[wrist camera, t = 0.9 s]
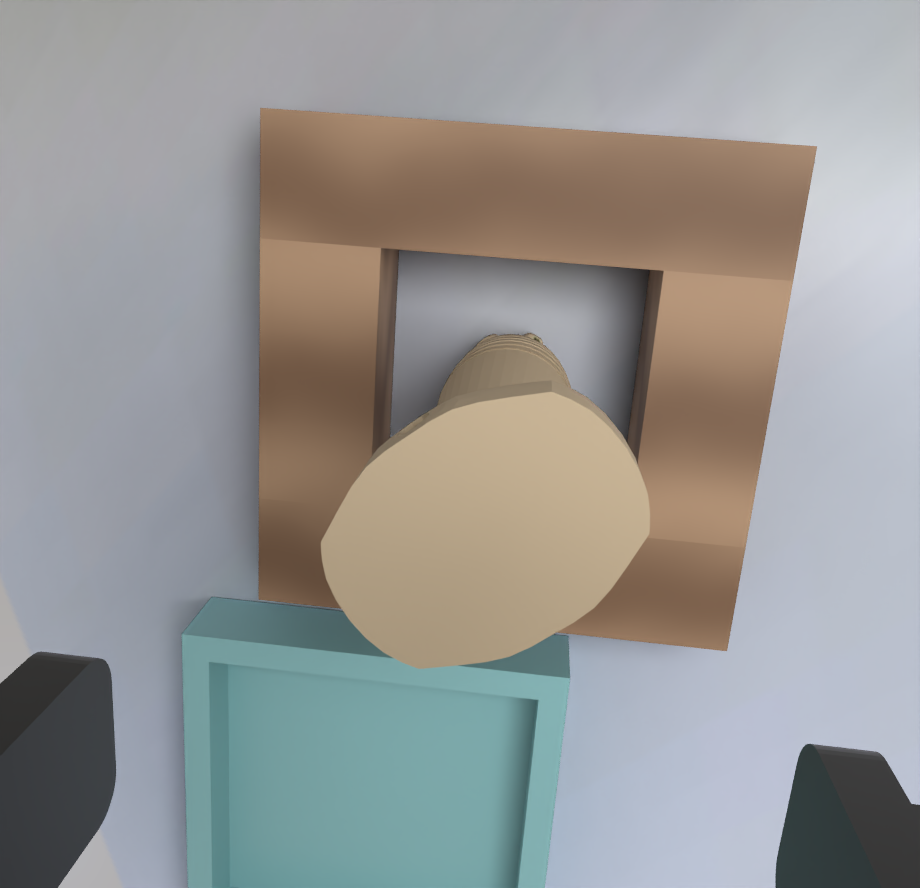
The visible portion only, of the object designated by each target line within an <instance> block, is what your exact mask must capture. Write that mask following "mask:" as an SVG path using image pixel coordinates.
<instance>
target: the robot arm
mask: <svg viewBox="0 0 920 888" xmlns="http://www.w3.org/2000/svg"><path fill="white" fill-rule="evenodd" d="M115 779H116V760H115V739H114V719H113V699H112V680H111V672H110V668H109V666H108V664H107V663H106V661H105V660H103V659H99V658H91V657H82V656H74V655H65V654H57V653H48V652H37V653H35V654H33V655H32V656H31V657H29V658H28V659H27V660H26V661H25V662H24V663H23V664H21V666H19V667H18V668H17V669H16V670H15V671H14V672H13V673H12V674H11V675H9V676H8V678H6V679H5V680H4V681H3V682H2V683H1V684H0V888H58V886H59V885H60V884H61V882H62V881H63V879H64V877H65V876H66V875H67V874H68V872H69V871H70V869H71V868H72V866H73V865H74V863H75V862H76V861H77V859H78V858H79V856H80V855H81V854H82V852H83V851H84V849H85V848H86V846H87V845H88V843H89V842H90V841H91V839H92V838H93V836H94V835H95V834H96V832H97V831H98V829H99V828H100V826H101V824H102V822H103V820H104V818H105V816H106V814H107V812H108V809H109V806H110V803H111V799H112V796H113V791H114V786H115ZM776 888H920V805H915V804H911V803H910V801H909V799H908V797H907V796H906V794H905V792H904V791H903V789H902V787H901V785H900V784H899V782H898V780H897V779H896V777H895V775H894V773H893V772H892V770H891V768H890V766H889V765H888V763H887V761H886V760H885V758H884V757H883V756H882V755H881V754H880V753H878V752H874V751H865V750H857V749H848V748H840V747H831V746H823V745H814V744H807V745H805V746H804V747H803V749H802V751H801V752H800V755H799V758H798V762H797V766H796V771H795V776H794V780H793V785H792V790H791V795H790V799H789V804H788V809H787V813H786V818H785V823H784V828H783V832H782V837H781V842H780V846H779V851H778V856H777V863H776Z"/></svg>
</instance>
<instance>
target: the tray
mask: <svg viewBox="0 0 920 888" xmlns="http://www.w3.org/2000/svg"><path fill="white" fill-rule="evenodd" d="M182 671H183V712H184V752H185V793H186V833H187V874H188V888H545V881H546V872H547V864H548V856H549V848H550V839H551V831H552V823H553V815H554V806H555V798H556V790H557V782H558V773H559V765H560V757H561V749H562V740H563V732H564V724H565V716H566V708H567V699H568V691H569V683H570V666H569V642H568V636H562V635H551V636H549V637H548V638H546V639H544V640H542V641H541V642H539V643H537V644H535V645H534V646H532V647H530V648H528V649H525V650H523V651H521V652H519V653H517V654H514V655H512V656H510V657H506V658H502V659H497V660H493V661H489V662H483V663H475V664H466V665H457V666H447V667H436V668H425V669H418V668H415V667H412V666H410V665H407V664H405V663H402V662H400V661H398V660H396V659H394V658H393V657H391V656H389V655H387V654H385V653H383V652H382V651H381V650H380V649H378V648H377V647H376V646H375V645H374V644H372V643H371V642H370V641H369V640H367V639H366V638H365V637H364V636H363V635H362V633H361V632H360V631H359V630H358V629H357V628H356V627H355V626H354V625H353V624H352V623H351V621H350V620H349V619H348V617H347V616H346V614H345V613H344V611H335V610H326V609H317V608H308V607H299V606H290V605H281V604H272V603H263V602H254V601H244V600H235V599H226V598H217V597H211V599H210V600H209V601H208V602H207V604H206V605H205V606H204V607H203V608H202V610H201V611H200V612H199V613H198V615H197V616H196V617H195V618H194V620H193V621H192V622H191V623H190V625H189V626H188V627H187V628H186V629H185V631H184V632H183V633H182Z"/></svg>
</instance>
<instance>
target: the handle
mask: <svg viewBox="0 0 920 888" xmlns="http://www.w3.org/2000/svg"><path fill="white" fill-rule="evenodd" d="M649 533H650V508H649V499H648V493H647V490H646V486H645V484H644V481H643V478H642V475H641V472H640V469H639V467H638V464H637V461H636V458H635V456H634V455H633V453H632V451H631V449H630V447H629V446H628V444H627V442H626V440H625V439H624V437H623V435H622V434H621V432H620V431H619V430H618V429H617V427H616V426H615V425H614V424H613V423H612V421H611V420H610V419H609V418H608V416H607V415H606V414H605V413H604V412H603V411H602V410H601V409H600V408H599V407H597V406H596V405H595V404H594V403H593V402H592V401H591V400H590V399H588V398H587V397H585V396H584V395H582V394H580V393H578V392H577V391H575V390H573V389H571V386H570V383H569V380H568V378H567V375H566V373H565V371H564V369H563V367H562V365H561V363H560V362H559V360H558V359H557V358H556V356H555V355H554V354H553V353H552V352H551V351H550V350H549V349H548V348H547V347H546V346H545V345H543V342H542V340H541V338H539V337H538V336H536V335H534V334H532V333H527V334H526V335H514V334H507V335H500V336H498V335H496V334H492V335H489V336H487V337H485V338H484V339H482V340H481V341H480V342H479V343H478V344H477V345H476V347H474V348H473V349H472V350H471V351H469V352H468V353H467V354H466V355H465V357H464V358H463V359H462V360H461V361H460V362H459V363H458V364H457V365H456V367H455V368H454V370H453V371H452V373H451V374H450V376H449V378H448V380H447V381H446V383H445V385H444V387H443V389H442V392H441V394H440V397H439V401H438V404H437V406H436V407H435V408H433V409H432V410H430V411H428V412H427V413H425V414H423V415H422V416H420V417H419V418H417V419H416V420H414V421H413V422H412V423H410V424H409V425H407V426H406V427H405V428H403V429H402V430H400V431H399V432H398V433H396V434H395V435H394V436H392V437H391V438H390V439H388V440H387V441H386V442H385V443H384V444H383V445H381V446H380V447H379V448H378V449H377V450H376V451H375V453H374V454H373V455H372V457H371V458H370V459H369V461H368V462H367V464H366V465H365V467H364V468H363V470H362V471H361V473H360V474H359V476H358V477H357V479H356V480H355V482H354V483H353V485H352V487H351V488H350V490H349V492H348V493H347V495H346V497H345V499H344V500H343V502H342V504H341V506H340V507H339V509H338V511H337V513H336V515H335V517H334V518H333V520H332V522H331V524H330V526H329V528H328V530H327V531H326V533H325V535H324V537H323V539H322V541H321V554H322V563H323V567H324V572H325V576H326V580H327V582H328V584H329V587H330V589H331V591H332V593H333V595H334V597H335V599H336V601H337V603H338V604H339V606H340V607H341V608H342V610H343V611H344V613H345V614H346V616H347V617H348V619H349V620H350V621H351V623H352V624H353V625H354V626H355V627H356V628H357V629H358V630H359V631H360V632H361V633H362V635H363V636H364V637H365V638H366V639H367V640H369V641H370V642H371V643H372V644H374V645H375V646H376V647H377V648H378V649H380V650H381V651H382V652H383V653H385V654H387V655H389V656H391V657H393V658H394V659H396V660H398V661H400V662H402V663H405V664H407V665H410V666H412V667H415V668H418V669H425V668H436V667H447V666H457V665H466V664H475V663H483V662H489V661H493V660H497V659H502V658H506V657H510V656H512V655H514V654H517V653H519V652H521V651H523V650H525V649H528V648H530V647H532V646H534V645H535V644H537V643H539V642H541V641H542V640H544V639H546V638H548V637H549V636H551V635H553V634H555V633H556V632H558V631H560V630H562V629H563V628H565V627H567V626H569V625H570V624H572V623H574V622H575V621H577V620H578V619H580V618H581V617H582V616H584V615H585V614H586V613H588V612H589V611H591V610H592V609H593V608H595V607H596V606H597V604H598V603H599V602H600V601H601V600H602V599H603V598H604V597H605V596H606V595H607V593H608V592H609V591H610V590H611V589H612V587H613V586H614V585H615V583H616V582H617V580H618V579H619V578H620V576H621V575H622V573H623V572H624V571H625V569H626V568H627V566H628V565H629V563H630V562H631V560H632V559H633V557H634V556H635V554H636V553H637V551H638V550H639V548H640V547H641V545H642V544H643V542H644V541H645V539H646V538H647V537H648V535H649Z"/></svg>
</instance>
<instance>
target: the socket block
mask: <svg viewBox="0 0 920 888" xmlns="http://www.w3.org/2000/svg"><path fill="white" fill-rule="evenodd" d="M816 149H817V146H804V145H789V144H775V143H760V142H746V141H731V140H717V139H702V138H688V137H673V136H659V135H644V134H630V133H616V132H601V131H587V130H572V129H558V128H543V127H529V126H514V125H500V124H485V123H471V122H456V121H442V120H427V119H413V118H399V117H384V116H370V115H355V114H341V113H326V112H312V111H297V110H283V109H268V108H260V357H259V600H268V601H277V602H286V603H295V604H304V605H313V606H322V607H331V608H340V609H342V608H341V607H340V606H339V604H338V603H337V601H336V599H335V597H334V595H333V593H332V591H331V589H330V587H329V584H328V582H327V580H326V576H325V572H324V567H323V563H322V554H321V541H322V539H323V537H324V535H325V533H326V531H327V530H328V528H329V526H330V524H331V522H332V520H333V518H334V517H335V515H336V513H337V511H338V509H339V507H340V506H341V504H342V502H343V500H344V499H345V497H346V495H347V493H348V492H349V490H350V488H351V487H352V485H353V483H354V482H355V480H356V479H357V477H358V476H359V474H360V473H361V471H362V470H363V468H364V467H365V465H366V464H367V462H368V461H369V459H370V458H371V457H372V455H373V454H374V453H375V451H376V450H377V449H378V448H379V447H380V446H381V445H383V444H384V443H385V442H386V441H387V440H388V439H390V423H391V403H392V382H393V362H394V341H395V321H396V301H397V280H398V260H399V250H411V251H424V252H436V253H449V254H461V255H474V256H486V257H499V258H511V259H524V260H536V261H549V262H561V263H574V264H586V265H599V266H611V267H624V268H636V269H649V270H650V271H649V279H648V286H647V294H646V302H645V309H644V317H643V324H642V332H641V340H640V347H639V355H638V363H637V370H636V378H635V385H634V393H633V401H632V408H631V416H630V424H629V431H628V439H627V444H628V446H629V447H630V449H631V451H632V453H633V455H634V456H635V458H636V461H637V464H638V467H639V469H640V472H641V475H642V478H643V481H644V484H645V486H646V490H647V493H648V499H649V508H650V533H649V535H648V537H647V538H646V539H645V541H644V542H643V544H642V545H641V547H640V548H639V550H638V551H637V553H636V554H635V556H634V557H633V559H632V560H631V562H630V563H629V565H628V566H627V568H626V569H625V571H624V572H623V573H622V575H621V576H620V578H619V579H618V580H617V582H616V583H615V585H614V586H613V587H612V589H611V590H610V591H609V592H608V593H607V595H606V596H605V597H604V598H603V599H602V600H601V601H600V602H599V603H598V604H597V606H596V607H595V608H593V609H592V610H591V611H589V612H588V613H586V614H585V615H584V616H582V617H581V618H580V619H578V620H577V621H575V622H574V623H572V624H570V625H569V626H567V627H565V628H563V629H562V630H560V631H558V633H567V634H577V635H586V636H595V637H604V638H613V639H622V640H631V641H640V642H649V643H658V644H667V645H676V646H686V647H695V648H704V649H713V650H722V651H727V648H728V642H729V636H730V631H731V625H732V620H733V614H734V608H735V603H736V597H737V592H738V586H739V580H740V575H741V569H742V564H743V558H744V552H745V547H746V541H747V536H748V530H749V524H750V519H751V513H752V508H753V502H754V496H755V491H756V485H757V480H758V474H759V468H760V463H761V457H762V452H763V446H764V440H765V435H766V429H767V424H768V418H769V413H770V407H771V401H772V396H773V390H774V385H775V379H776V373H777V368H778V362H779V357H780V351H781V345H782V340H783V334H784V329H785V323H786V317H787V312H788V306H789V301H790V295H791V289H792V284H793V278H794V273H795V267H796V261H797V256H798V250H799V245H800V239H801V233H802V228H803V222H804V217H805V211H806V205H807V200H808V194H809V189H810V183H811V177H812V172H813V166H814V161H815V155H816Z"/></svg>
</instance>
